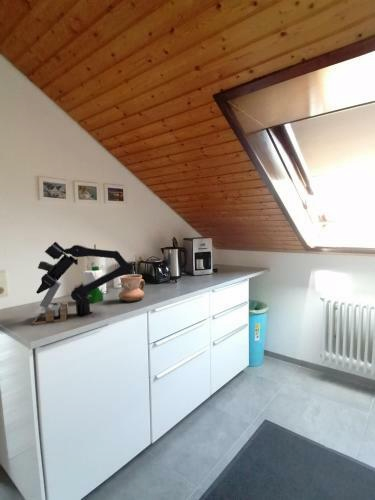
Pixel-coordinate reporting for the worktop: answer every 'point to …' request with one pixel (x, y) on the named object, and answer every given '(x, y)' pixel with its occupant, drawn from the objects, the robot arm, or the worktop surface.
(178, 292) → the worktop surface
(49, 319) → the frame
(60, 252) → the robot arm
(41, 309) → the trapdoor
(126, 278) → the ceramic jug
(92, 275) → the milk carton
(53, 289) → the basalt block
